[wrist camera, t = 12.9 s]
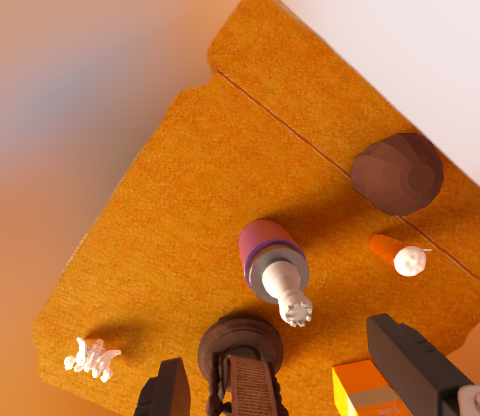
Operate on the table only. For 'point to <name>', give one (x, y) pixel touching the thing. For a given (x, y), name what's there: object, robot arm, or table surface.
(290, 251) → the jar lid
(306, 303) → the rook chess piece
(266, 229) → the jar
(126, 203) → the table surface
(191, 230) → the table surface
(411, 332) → the robot arm
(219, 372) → the scroll
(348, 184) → the table surface
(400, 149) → the muffin
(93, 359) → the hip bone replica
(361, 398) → the orange juice
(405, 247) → the milkshake
